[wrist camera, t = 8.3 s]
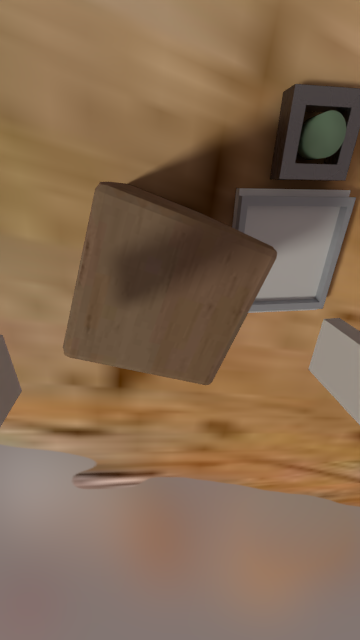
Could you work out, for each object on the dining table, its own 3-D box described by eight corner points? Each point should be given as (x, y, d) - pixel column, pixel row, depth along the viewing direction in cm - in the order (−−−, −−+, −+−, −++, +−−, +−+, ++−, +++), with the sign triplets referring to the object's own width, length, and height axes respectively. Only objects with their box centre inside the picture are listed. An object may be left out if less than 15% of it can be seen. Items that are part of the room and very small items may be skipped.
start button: (301, 115, 27) (314, 109, 25) (335, 117, 28) (351, 111, 26) (292, 159, 29) (304, 157, 27) (325, 160, 30) (339, 158, 28)
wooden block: (204, 214, 31) (284, 251, 14) (177, 288, 35) (211, 389, 18) (124, 182, 29) (95, 176, 11) (103, 265, 33) (59, 358, 15)
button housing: (283, 92, 27) (295, 84, 25) (352, 96, 28) (370, 89, 26) (269, 179, 31) (279, 178, 28) (331, 180, 32) (345, 180, 29)
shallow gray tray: (236, 188, 31) (243, 188, 28) (343, 190, 32) (358, 190, 30) (223, 310, 38) (228, 317, 36) (311, 306, 40) (321, 313, 37)
